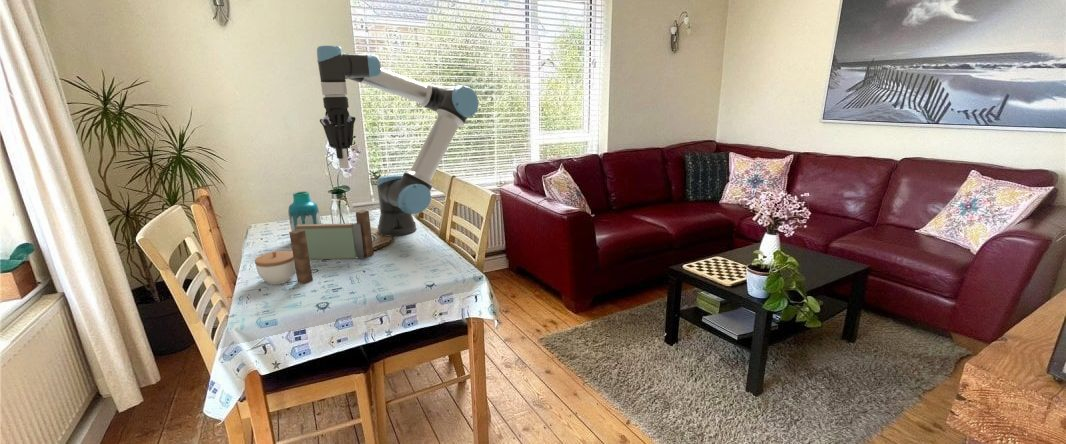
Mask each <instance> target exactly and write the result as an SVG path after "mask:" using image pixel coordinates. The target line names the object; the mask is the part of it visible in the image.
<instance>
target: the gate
mask: <svg viewBox="0 0 1066 444" xmlns="http://www.w3.org/2000/svg"><path fill="white" fill-rule="evenodd" d="M295 229H296V230H298V229H299V230H305V234H306V240H307V246H308V253H309V259H310V260H334V259H335V260H336V259H337V260H338V259H339V260H341V259H356V258H357V259H364V258H365V257H364V249H363V241H362V233H361V225H360V223H357V222H355V223H353V222H352V223H351V222H348V223H344V222H343V223H321V224H304V225H296V226H295Z"/></svg>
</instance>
